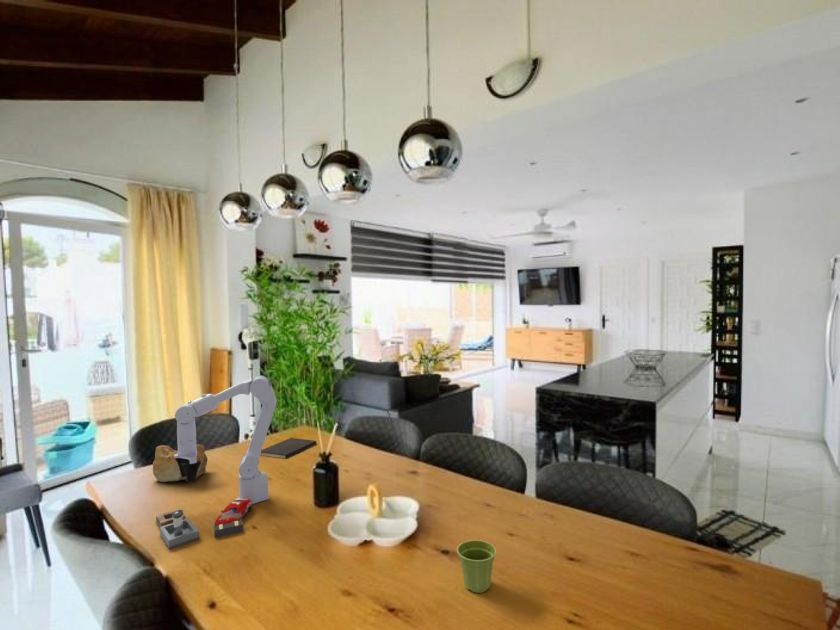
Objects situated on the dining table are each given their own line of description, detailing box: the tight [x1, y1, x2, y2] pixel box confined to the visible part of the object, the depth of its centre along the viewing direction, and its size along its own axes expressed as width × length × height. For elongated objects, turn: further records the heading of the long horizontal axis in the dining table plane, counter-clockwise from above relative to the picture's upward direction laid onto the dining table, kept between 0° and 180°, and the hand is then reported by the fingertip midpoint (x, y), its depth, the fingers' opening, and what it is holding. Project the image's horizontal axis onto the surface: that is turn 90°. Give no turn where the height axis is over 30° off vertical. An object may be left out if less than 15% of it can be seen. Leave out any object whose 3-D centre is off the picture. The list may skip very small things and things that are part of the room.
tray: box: [159, 518, 200, 550], centre depth 135 cm, size 8×11×2 cm
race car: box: [214, 499, 253, 526], centre depth 146 cm, size 16×7×5 cm, turn 175°
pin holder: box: [155, 508, 187, 528], centre depth 144 cm, size 7×7×2 cm
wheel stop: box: [213, 519, 244, 539], centre depth 137 cm, size 8×3×3 cm, turn 116°
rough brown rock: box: [152, 443, 208, 483], centre depth 184 cm, size 23×17×15 cm
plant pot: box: [456, 539, 497, 594], centre depth 108 cm, size 9×9×9 cm
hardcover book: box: [260, 437, 317, 460], centre depth 217 cm, size 16×23×2 cm
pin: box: [172, 509, 184, 537], centre depth 135 cm, size 3×3×7 cm
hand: (188, 479), depth 153 cm, fingers open, 7 cm apart
